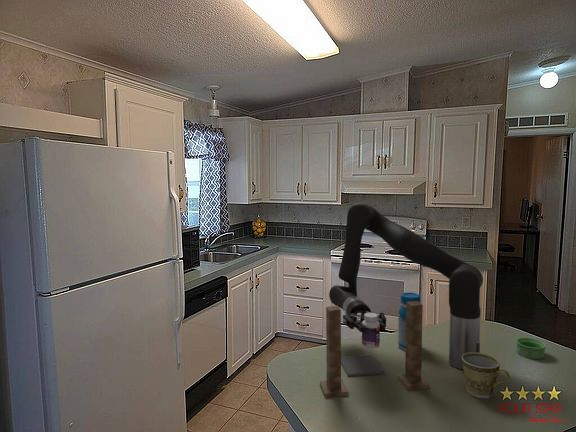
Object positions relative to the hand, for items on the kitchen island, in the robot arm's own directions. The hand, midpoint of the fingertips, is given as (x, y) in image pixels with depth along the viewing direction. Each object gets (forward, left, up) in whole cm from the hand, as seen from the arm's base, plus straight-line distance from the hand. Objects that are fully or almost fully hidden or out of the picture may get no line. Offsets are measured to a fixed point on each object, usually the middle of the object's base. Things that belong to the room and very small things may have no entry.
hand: (373, 329), depth 116 cm
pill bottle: (+1, -2, -6) cm, 7 cm away
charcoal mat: (+6, -11, -18) cm, 22 cm away
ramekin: (-48, -41, -18) cm, 65 cm away
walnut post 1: (+11, +7, -18) cm, 22 cm away
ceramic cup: (-31, -7, -18) cm, 36 cm away
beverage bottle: (-8, -31, -18) cm, 37 cm away
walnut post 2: (-11, -6, -18) cm, 22 cm away
